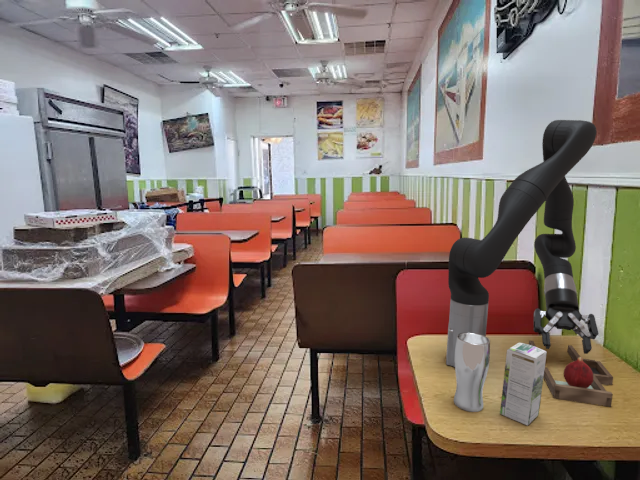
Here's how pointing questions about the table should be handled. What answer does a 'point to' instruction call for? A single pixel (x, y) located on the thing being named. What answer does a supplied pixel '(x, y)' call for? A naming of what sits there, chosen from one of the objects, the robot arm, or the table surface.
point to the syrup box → (523, 383)
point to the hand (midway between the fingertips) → (567, 350)
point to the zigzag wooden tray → (578, 394)
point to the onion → (578, 374)
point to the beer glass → (471, 370)
